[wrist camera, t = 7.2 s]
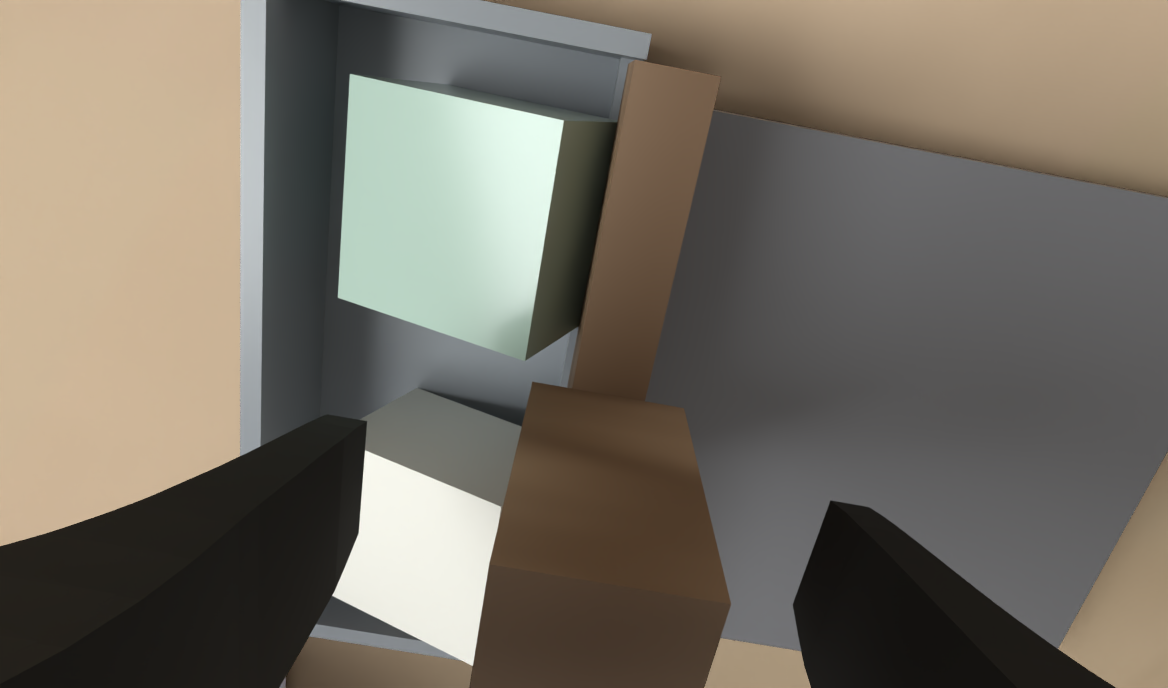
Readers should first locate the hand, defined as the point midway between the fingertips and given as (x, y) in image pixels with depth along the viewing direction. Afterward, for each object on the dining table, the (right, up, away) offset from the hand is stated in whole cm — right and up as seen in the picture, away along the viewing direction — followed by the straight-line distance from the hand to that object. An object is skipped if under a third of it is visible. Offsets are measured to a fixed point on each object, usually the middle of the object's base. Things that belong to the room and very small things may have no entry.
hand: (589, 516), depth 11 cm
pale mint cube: (-1, +6, +4) cm, 7 cm away
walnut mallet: (0, +2, +4) cm, 4 cm away
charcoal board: (+6, +1, +6) cm, 9 cm away
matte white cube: (-3, -1, +6) cm, 7 cm away
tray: (-3, +3, +6) cm, 7 cm away
